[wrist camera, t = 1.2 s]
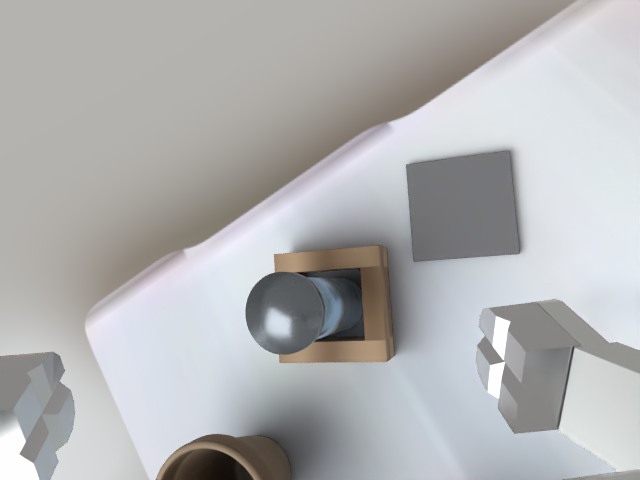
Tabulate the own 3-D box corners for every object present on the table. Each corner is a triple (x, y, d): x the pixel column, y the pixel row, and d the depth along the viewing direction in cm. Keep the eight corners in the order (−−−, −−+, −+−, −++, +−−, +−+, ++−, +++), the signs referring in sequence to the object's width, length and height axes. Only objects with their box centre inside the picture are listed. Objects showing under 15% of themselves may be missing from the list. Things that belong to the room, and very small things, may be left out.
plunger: (366, 271, 48) (318, 268, 35) (370, 333, 47) (323, 354, 34) (309, 275, 50) (243, 274, 37) (312, 335, 49) (247, 355, 36)
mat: (509, 152, 44) (509, 150, 44) (519, 253, 43) (519, 253, 43) (407, 166, 47) (406, 164, 47) (414, 261, 46) (413, 261, 46)
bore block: (386, 247, 47) (378, 245, 44) (394, 355, 46) (387, 361, 43) (288, 256, 50) (274, 254, 47) (293, 357, 49) (279, 362, 46)
